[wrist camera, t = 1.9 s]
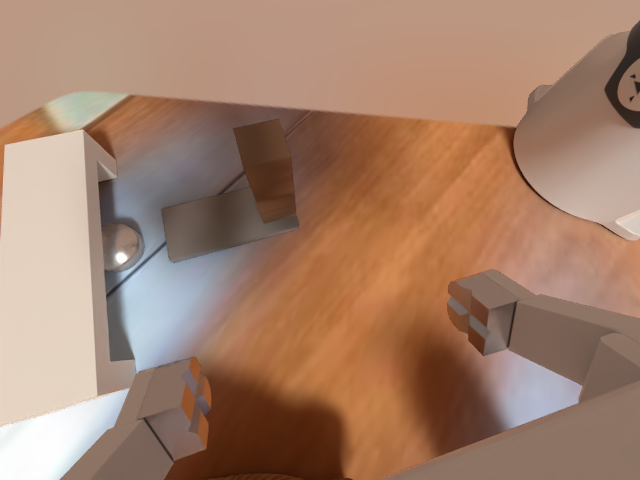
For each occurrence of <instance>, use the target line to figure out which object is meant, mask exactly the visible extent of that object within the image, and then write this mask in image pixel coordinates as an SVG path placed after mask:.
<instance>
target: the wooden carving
mask: <svg viewBox="0 0 640 480" xmlns="http://www.w3.org/2000/svg"><path fill="white" fill-rule="evenodd" d="M206 480H303V479H302V478H297V477H294V476H289V475H284V474H269V473H266V474H264V473H255V474H254V473H251V474H239V475H231V476H228V477H219V478H216V479H213V478H210V479H206ZM334 480H352V479H350V478H341V479H334Z"/></svg>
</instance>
